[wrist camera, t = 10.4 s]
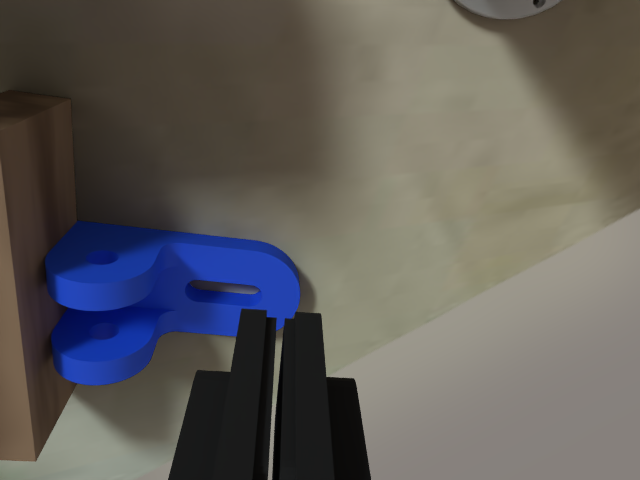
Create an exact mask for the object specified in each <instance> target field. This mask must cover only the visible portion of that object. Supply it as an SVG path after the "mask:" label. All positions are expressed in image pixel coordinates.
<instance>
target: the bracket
mask: <svg viewBox="0 0 640 480" xmlns="http://www.w3.org/2000/svg"><path fill="white" fill-rule="evenodd" d="M45 268H46V281H47V291H48V294H49V295H50V297H51V298H52V299H53V300H54V301H56V302H57V303H59V304H61V305H63V306H66V307H68V309H67V310H66V312H65V313H64V314H63V316H62V317H61V319H60V320H59V322H58V323H57V325H56V326H55V328H54V329H53V332H52V335H51V342H52V354H53V364H54V367H55V369H56V371H57V372H58V373H59V374H60V375H61V376H62V377H63V378H65V379H67V380H69V381H71V382H75V383H78V384H84V385H106V384H112V383H116V382H120V381H123V380H125V379H128V378H130V377H132V376H134V375H136V374H137V373H139V372H140V371H141V370H142V369H144V368H145V367H146V365H147V364H148V363H149V361H150V360H151V357H152V355H153V352H154V349H155V346H156V343H157V341H158V339H159V337H160V336H161V335H163V334H165V333H168V332H174V331H178V332H190V333H202V334H214V335H226V336H237V330H238V325H239V319H240V313H241V309H242V308H243V309H258V310H267V317H275V318H277V322H276V331H277V330H279V329H280V328H282V327H283V326H284V321H285V318H292V317H293V316H294V314H295V312H296V310H297V308H298V305H299V301H300V287H299V277H298V272H297V269H296V267H295V265H294V263H293V262H292V260H291V259H290V258H289V257H288V256H287V255H286V254H285V253H284V252H283V251H282V250H280V249H279V248H277V247H275V246H273V245H271V244H268V243H265V242H261V241H255V240H246V239H237V238H228V237H219V236H210V235H201V234H192V233H183V232H175V231H166V230H157V229H148V228H139V227H130V226H121V225H112V224H103V223H95V222H86V221H77V222H76V223H75V224H74V225H73V226H72V228H71V229H70V230H69V231H68V232H67V233H66V234H65V235H64V236H63V237H62V238H61V240H60V241H59V242H58V243H57V244H56V245H55V246H54V247H53V248H52V249H51V250H50V251H49V253H48V254H47V256H46V258H45ZM193 280H204V281H214V282H224V283H235V284H245V285H253V286H256V287H257V288H259V289H260V291H259V292H258V293H256V294H240V293H230V292H220V291H209V290H199V289H196V288H194V287H193V286H192V285H191V284H190V283H189V282H190V281H193Z"/></svg>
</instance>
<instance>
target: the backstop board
mask: <svg viewBox="0 0 640 480" xmlns="http://www.w3.org/2000/svg"><path fill="white" fill-rule="evenodd" d="M76 222H77V210H76V190H75V171H74V152H73V133H72V114H71V99H68V98H61V97H54V96H47V95H40V94H33V93H26V92H19V91H12V90H8V91H5V92H2V93H0V460H12V461H35V462H36V460H37V458H38V456H39V455H40V453H41V451H42V449H43V447H44V445H45V443H46V441H47V439H48V438H49V436H50V434H51V432H52V430H53V428H54V426H55V424H56V422H57V420H58V419H59V417H60V415H61V413H62V411H63V409H64V407H65V405H66V403H67V401H68V400H69V398H70V396H71V394H72V392H73V390H74V388H75V386H76V384H77V383H75V382H71V381H69V380H67V379H65V378H63V377H62V376H61V375H60V374H59V373H58V372H57V371H56V369H55V367H54V364H53V354H52V342H51V335H52V332H53V329H54V328H55V326H56V325H57V323H58V322H59V320H60V319H61V317H62V316H63V314H64V313H65V312H66V310H67V309H68V307H66V306H63V305H61V304H59V303H57V302H56V301H54V300H53V299H52V298H51V297H50V295H49V294H48V291H47V281H46V268H45V258H46V256H47V254H48V253H49V251H50V250H51V249H52V248H53V247H54V246H55V245H56V244H57V243H58V242H59V241H60V240H61V238H62V237H63V236H64V235H65V234H66V233H67V232H68V231H69V230H70V229H71V228H72V226H73V225H74V224H75V223H76Z"/></svg>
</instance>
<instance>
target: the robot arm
mask: <svg viewBox="0 0 640 480" xmlns="http://www.w3.org/2000/svg"><path fill="white" fill-rule="evenodd" d="M454 1H455V2H456V3H457V4H458V5H460V6H461V7H463V8H465V9H467V10H468V11H470V12H472V13H474V14H477V15H480V16H484V17H487V18H494V19H520V18H524V17H528V16H532V15H536V14H539V13H541V12H543V11H545V10H547V9H549V8H552V7H554V6H555V5H557V4H558V3H559V2H561V1H562V0H536V2H535V4H534V5H533V0H454ZM276 322H277V318H275V317H267V310H258V309H243V308H242V309H241V313H240V319H239V325H238V330H237V336H236V342H235V348H234V354H233V360H232V366H231V372H222V371H203V370H197V372H196V375H195V378H194V381H193V385H192V389H191V393H190V397H189V401H188V405H187V409H186V412H185V416H184V420H183V424H182V428H181V432H180V436H179V439H178V443H177V447H176V451H175V455H174V459H173V463H172V467H171V471H170V474H169V478H168V480H268V465H269V448H270V447H269V446H270V429H271V412H272V394H273V376H274V358H275V340H276ZM274 432H275V433H274V452H273V474H272V480H371V476H370V470H369V463H368V457H367V451H366V444H365V438H364V431H363V425H362V418H361V412H360V405H359V399H358V393H357V387H356V382H355V380H354V379H353V378H335V377H326V367H325V355H324V343H323V330H322V318H321V314H320V313H305V312H295V317H294V319H291V318H285V321H284V331H283V341H282V351H281V362H280V372H279V383H278V393H277V403H276V415H275V430H274Z"/></svg>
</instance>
